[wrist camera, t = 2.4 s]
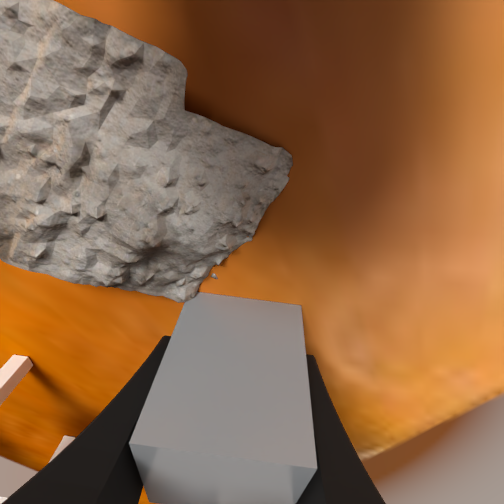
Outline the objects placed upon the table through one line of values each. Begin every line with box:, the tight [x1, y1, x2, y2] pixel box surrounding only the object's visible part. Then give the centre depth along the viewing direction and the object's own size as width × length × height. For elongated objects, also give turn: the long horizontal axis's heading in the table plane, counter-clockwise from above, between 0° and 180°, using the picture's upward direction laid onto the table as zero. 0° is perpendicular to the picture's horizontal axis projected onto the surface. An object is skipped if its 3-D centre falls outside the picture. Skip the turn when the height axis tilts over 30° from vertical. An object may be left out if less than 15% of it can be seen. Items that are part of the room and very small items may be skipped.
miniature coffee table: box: [0, 355, 75, 504], centre depth 15 cm, size 12×11×6 cm
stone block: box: [129, 292, 317, 504], centre depth 10 cm, size 5×5×6 cm
